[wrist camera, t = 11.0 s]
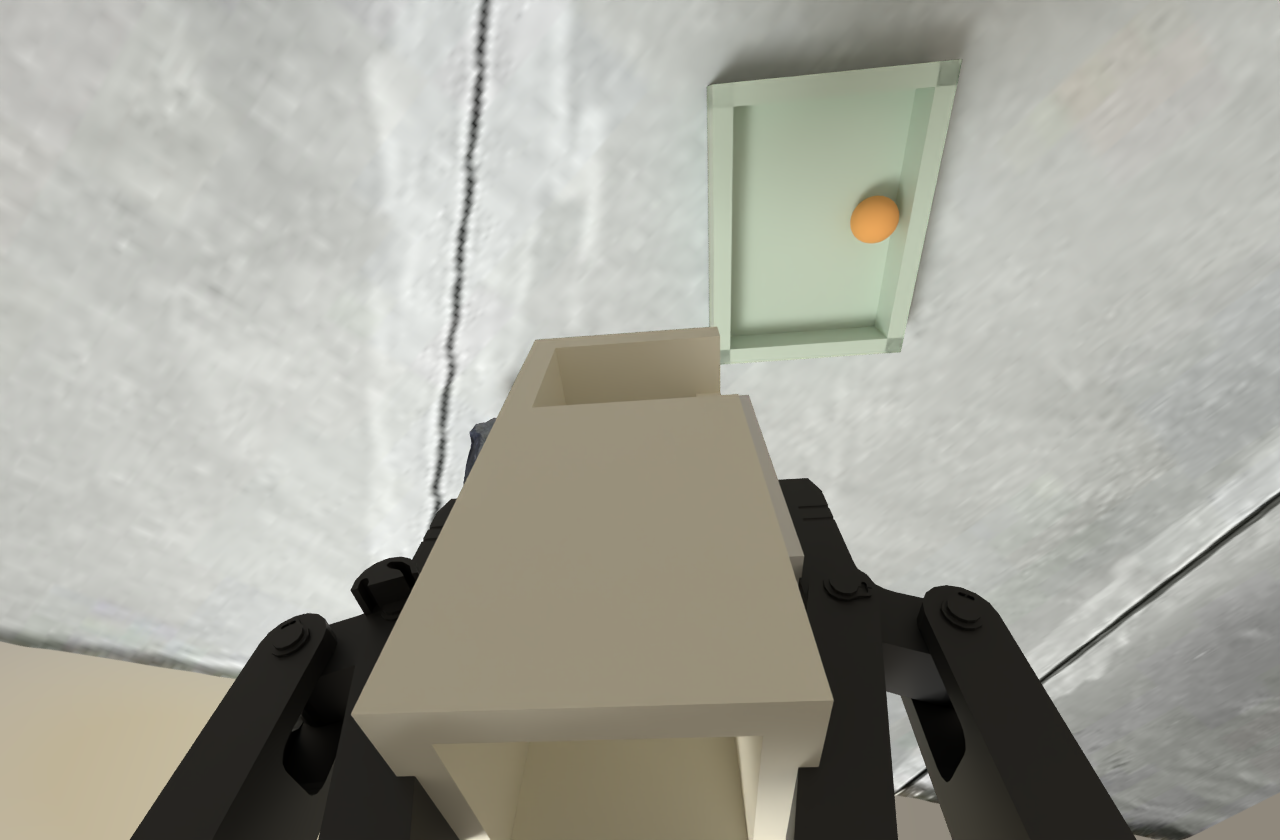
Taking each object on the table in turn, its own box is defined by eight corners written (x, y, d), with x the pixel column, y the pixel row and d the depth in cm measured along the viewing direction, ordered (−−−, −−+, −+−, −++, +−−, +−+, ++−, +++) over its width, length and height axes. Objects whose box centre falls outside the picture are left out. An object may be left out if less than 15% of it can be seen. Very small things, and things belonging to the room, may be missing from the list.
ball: (837, 218, 33) (863, 254, 33) (880, 184, 31) (907, 223, 31) (844, 216, 35) (869, 250, 36) (884, 185, 34) (910, 221, 34)
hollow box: (535, 339, 16) (350, 714, 6) (717, 326, 16) (834, 700, 6) (565, 480, 20) (474, 881, 9) (717, 472, 19) (793, 877, 9)
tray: (706, 86, 32) (712, 84, 29) (932, 64, 31) (962, 59, 28) (709, 346, 41) (714, 365, 38) (882, 334, 40) (900, 352, 37)
